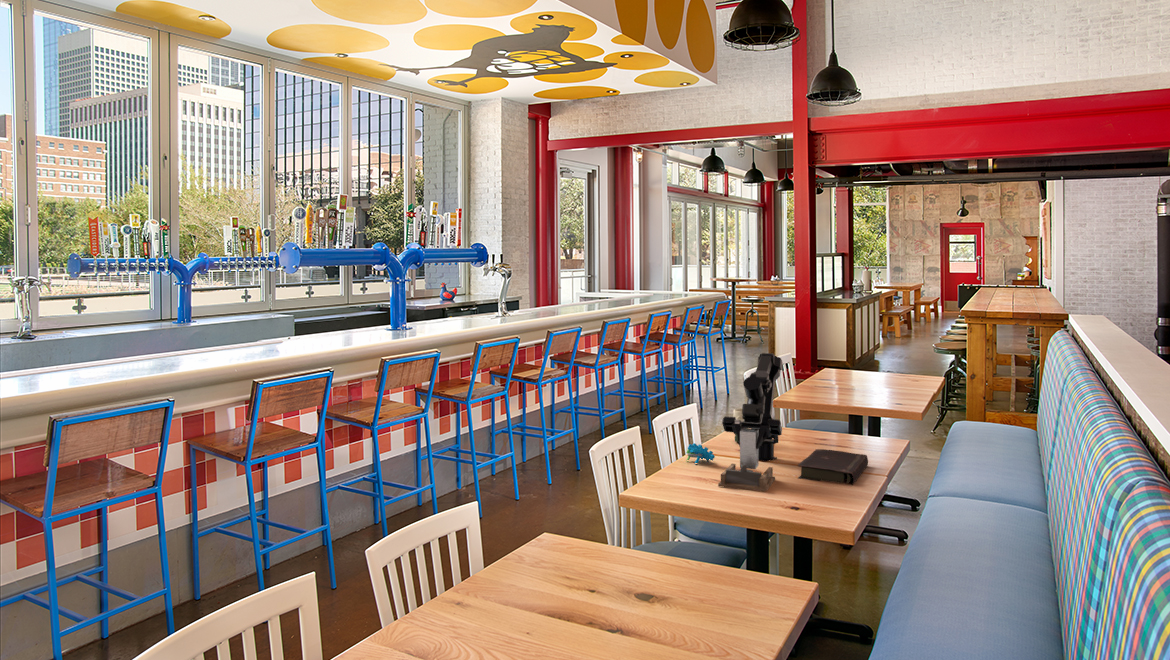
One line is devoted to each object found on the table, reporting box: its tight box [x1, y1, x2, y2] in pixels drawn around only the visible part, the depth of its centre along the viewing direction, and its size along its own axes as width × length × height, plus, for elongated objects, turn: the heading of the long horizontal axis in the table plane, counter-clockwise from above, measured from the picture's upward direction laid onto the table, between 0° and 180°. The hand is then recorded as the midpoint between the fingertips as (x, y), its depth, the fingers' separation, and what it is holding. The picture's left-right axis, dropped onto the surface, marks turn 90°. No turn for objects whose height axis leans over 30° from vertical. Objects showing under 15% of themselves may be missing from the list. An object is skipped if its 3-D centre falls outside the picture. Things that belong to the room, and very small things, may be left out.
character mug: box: [733, 408, 750, 443], centre depth 298 cm, size 11×7×13 cm, turn 147°
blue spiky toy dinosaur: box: [686, 442, 716, 464], centre depth 270 cm, size 11×6×10 cm
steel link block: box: [739, 428, 760, 470], centre depth 247 cm, size 5×5×12 cm
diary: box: [797, 448, 869, 486], centre depth 255 cm, size 19×25×5 cm
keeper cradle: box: [717, 463, 776, 493], centre depth 244 cm, size 14×15×7 cm
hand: (748, 447), depth 246 cm, fingers closed on steel link block, 5 cm apart
